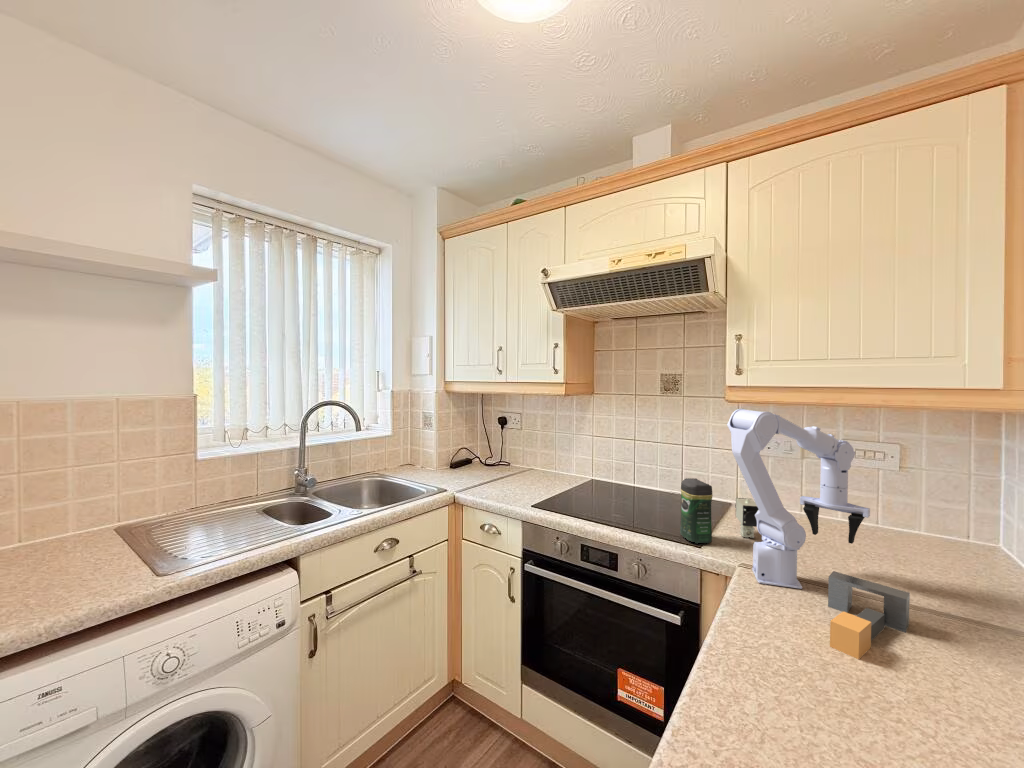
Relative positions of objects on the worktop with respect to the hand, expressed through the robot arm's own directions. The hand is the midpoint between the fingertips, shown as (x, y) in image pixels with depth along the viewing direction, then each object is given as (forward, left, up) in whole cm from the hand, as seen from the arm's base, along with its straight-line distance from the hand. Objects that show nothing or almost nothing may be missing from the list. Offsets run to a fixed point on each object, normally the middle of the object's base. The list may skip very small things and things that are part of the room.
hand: (832, 537), depth 113 cm
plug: (-5, -30, -10) cm, 32 cm away
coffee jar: (-32, +14, -10) cm, 36 cm away
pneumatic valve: (-16, +22, -10) cm, 29 cm away
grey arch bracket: (0, -20, -10) cm, 22 cm away
